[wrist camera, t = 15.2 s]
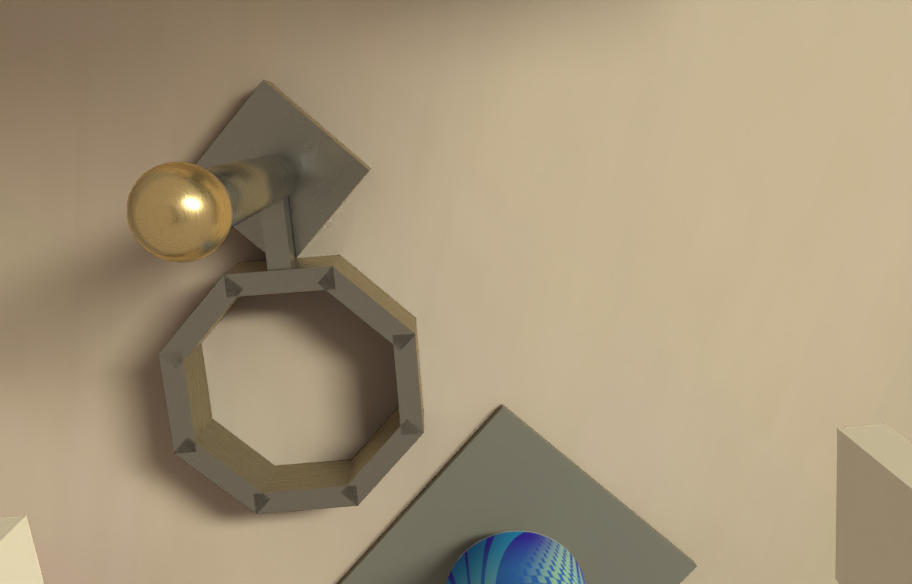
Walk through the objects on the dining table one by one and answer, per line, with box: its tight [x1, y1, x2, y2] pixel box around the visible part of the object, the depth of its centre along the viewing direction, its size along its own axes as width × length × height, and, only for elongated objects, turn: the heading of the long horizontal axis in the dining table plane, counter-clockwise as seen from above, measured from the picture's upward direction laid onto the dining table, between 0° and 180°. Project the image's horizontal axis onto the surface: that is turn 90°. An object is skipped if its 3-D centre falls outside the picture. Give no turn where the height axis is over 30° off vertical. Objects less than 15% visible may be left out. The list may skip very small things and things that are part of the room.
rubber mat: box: [338, 405, 697, 584], centre depth 48 cm, size 16×16×1 cm
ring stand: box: [127, 80, 424, 514], centre depth 35 cm, size 18×18×20 cm
